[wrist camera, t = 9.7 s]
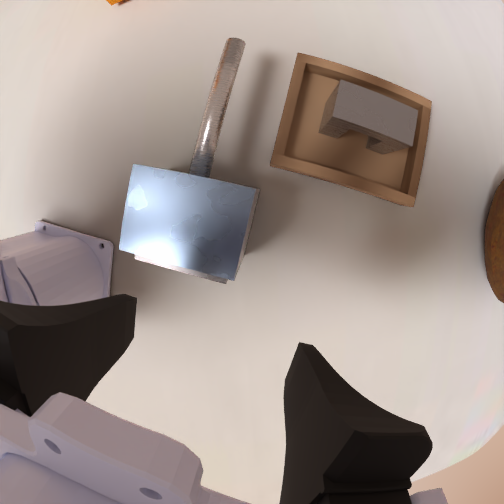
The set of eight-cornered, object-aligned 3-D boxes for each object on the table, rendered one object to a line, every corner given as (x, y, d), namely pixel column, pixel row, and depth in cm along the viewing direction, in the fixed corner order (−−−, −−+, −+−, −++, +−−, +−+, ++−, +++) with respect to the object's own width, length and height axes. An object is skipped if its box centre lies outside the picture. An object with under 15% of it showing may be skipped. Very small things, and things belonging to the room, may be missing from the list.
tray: (270, 166, 20) (270, 163, 18) (295, 64, 18) (297, 52, 16) (401, 205, 20) (413, 207, 18) (419, 107, 18) (431, 101, 16)
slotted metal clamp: (318, 132, 19) (332, 116, 14) (325, 102, 18) (340, 79, 14) (382, 154, 19) (412, 146, 14) (388, 125, 18) (418, 110, 13)
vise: (154, 243, 22) (117, 262, 16) (198, 61, 19) (176, 25, 13) (241, 266, 22) (230, 294, 16) (288, 75, 19) (293, 39, 13)
